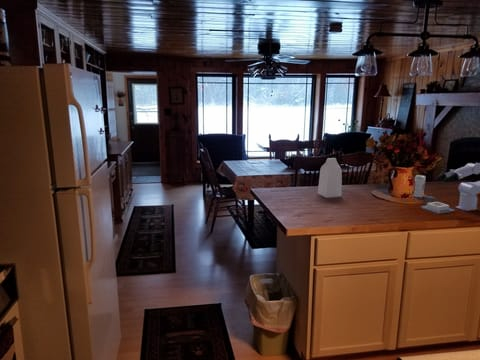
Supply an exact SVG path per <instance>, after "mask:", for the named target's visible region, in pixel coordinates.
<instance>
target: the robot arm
mask: <svg viewBox="0 0 480 360" xmlns="http://www.w3.org/2000/svg"><path fill="white" fill-rule="evenodd" d="M472 174H474V175H479V174H480V162H475V163H472V162H467V164H465V165H464V166H462V167H459V168H457V169H449V171H448V172H445V171H441V172H440V174H439V175H438V176H436V177H435V178H434V180H435V182H437V183H438V182H443V181H444V183H447V184H448V183H453V182H454V183H455V182H456V183H459V180H461V179H464V178H465V177H468V176H470V175H472ZM457 189H458V191H459V202H458V206H455V208H456V209H460V210H463V211H466V212H467V211H468V212H470V211H475V210H478V208H477V206H478V196H477V194H479V193H480V180H477V181H474V182H473V181H472V182H471V181H469V182H464V181H463V182H461V183H459V185H458V188H457Z"/></svg>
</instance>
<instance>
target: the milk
mask: <svg viewBox="0 0 480 360" xmlns="http://www.w3.org/2000/svg"><path fill="white" fill-rule="evenodd" d="M342 173H343V170H342V168H341V165H339V163H338V161H337V158H336V157H331V158H330V157H328V158H327V159H326V161H325V162H324V164H322V166H321V167H320V170H319V179H318V188H317V194H318V195H319V196H321V197H324V198H326V199H328V198H338V197H339V198H340V197H342V191H343V190H342V188H343V186H342V183H343V179H342V177H343V174H342Z"/></svg>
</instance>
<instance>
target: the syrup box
mask: <svg viewBox="0 0 480 360" xmlns="http://www.w3.org/2000/svg"><path fill="white" fill-rule="evenodd" d="M414 181H415V189H414V193H413V192H412V197H413V196H414V198H419V197H420V199H421V198H423V197H424V193H425V186H426V185H425V184H426V175H422V174H421V175H420V174H417V175H415V176H414Z"/></svg>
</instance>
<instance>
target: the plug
mask: <svg viewBox="0 0 480 360" xmlns="http://www.w3.org/2000/svg"><path fill="white" fill-rule="evenodd" d="M432 202H436V197H435V196H432V195H429V196H425V197H424V205H425V206H427V203H432Z"/></svg>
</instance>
